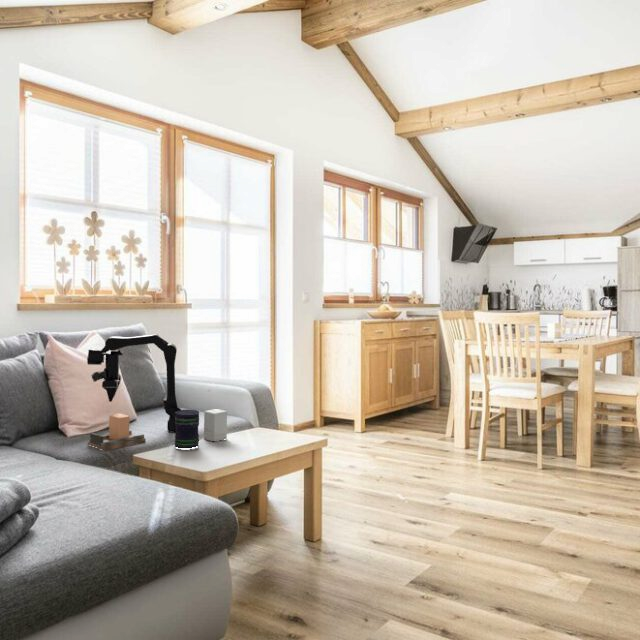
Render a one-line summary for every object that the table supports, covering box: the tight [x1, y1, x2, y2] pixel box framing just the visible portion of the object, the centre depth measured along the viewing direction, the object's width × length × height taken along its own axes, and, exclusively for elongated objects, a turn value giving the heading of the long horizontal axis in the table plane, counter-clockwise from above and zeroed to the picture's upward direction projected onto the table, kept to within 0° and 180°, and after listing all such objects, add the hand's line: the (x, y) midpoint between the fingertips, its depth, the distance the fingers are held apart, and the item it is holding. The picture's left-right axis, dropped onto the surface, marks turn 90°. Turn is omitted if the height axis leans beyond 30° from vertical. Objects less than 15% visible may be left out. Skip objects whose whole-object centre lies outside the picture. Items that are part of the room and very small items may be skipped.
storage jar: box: [174, 409, 200, 448], centre depth 270 cm, size 10×10×15 cm
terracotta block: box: [108, 413, 130, 440], centre depth 273 cm, size 5×7×10 cm
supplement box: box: [203, 408, 228, 442], centre depth 284 cm, size 7×7×13 cm
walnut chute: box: [87, 429, 147, 452], centre depth 273 cm, size 20×12×6 cm, turn 141°
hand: (111, 399), depth 290 cm, fingers open, 9 cm apart
